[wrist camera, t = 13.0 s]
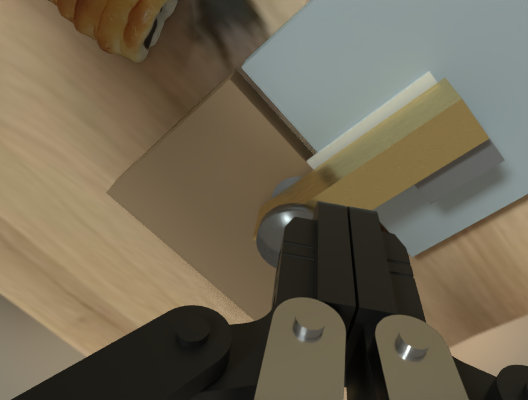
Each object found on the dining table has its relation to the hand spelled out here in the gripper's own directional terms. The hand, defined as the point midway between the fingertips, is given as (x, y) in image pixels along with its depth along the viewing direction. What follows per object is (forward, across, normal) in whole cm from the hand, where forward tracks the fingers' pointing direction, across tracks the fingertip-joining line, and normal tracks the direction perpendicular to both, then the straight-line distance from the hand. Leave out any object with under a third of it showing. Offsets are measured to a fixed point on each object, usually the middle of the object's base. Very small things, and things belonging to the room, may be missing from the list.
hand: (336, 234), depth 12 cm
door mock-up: (+22, -2, +9) cm, 24 cm away
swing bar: (+19, -4, +7) cm, 21 cm away
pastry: (+23, +14, -1) cm, 27 cm away
